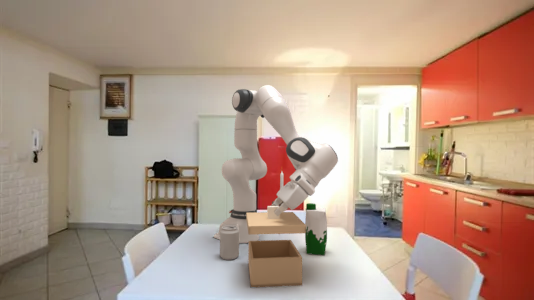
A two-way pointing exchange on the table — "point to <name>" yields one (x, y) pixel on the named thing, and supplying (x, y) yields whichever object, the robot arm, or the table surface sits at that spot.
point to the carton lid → (274, 222)
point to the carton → (274, 263)
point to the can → (229, 242)
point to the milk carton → (315, 230)
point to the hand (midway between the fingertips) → (273, 211)
